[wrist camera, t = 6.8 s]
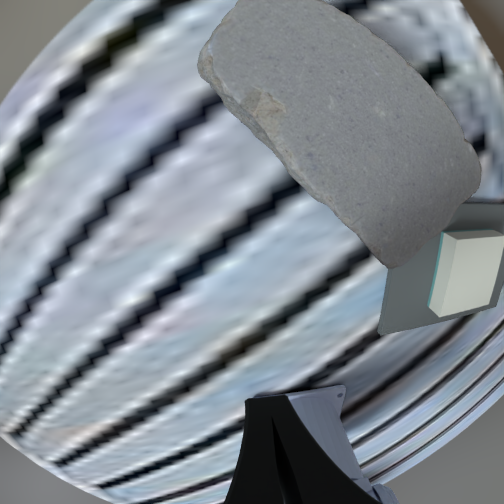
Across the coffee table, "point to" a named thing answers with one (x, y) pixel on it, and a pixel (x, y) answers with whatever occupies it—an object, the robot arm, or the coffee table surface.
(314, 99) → the decorative stone
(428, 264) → the mat
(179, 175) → the coffee table surface
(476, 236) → the tile
